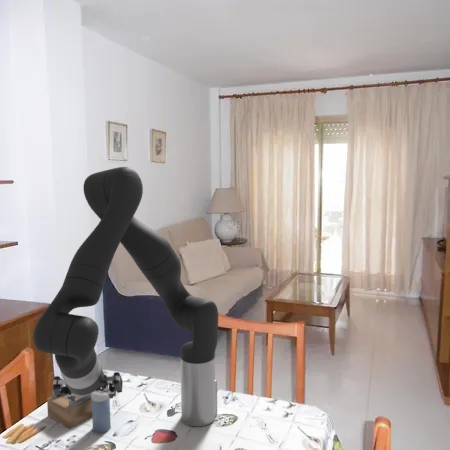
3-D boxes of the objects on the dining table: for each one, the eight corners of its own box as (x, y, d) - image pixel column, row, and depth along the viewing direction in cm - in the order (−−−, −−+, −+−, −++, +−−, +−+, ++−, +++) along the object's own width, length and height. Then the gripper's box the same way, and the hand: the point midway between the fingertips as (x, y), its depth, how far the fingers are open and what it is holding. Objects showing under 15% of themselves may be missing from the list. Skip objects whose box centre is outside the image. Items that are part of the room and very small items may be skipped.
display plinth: (79, 400, 127) (78, 379, 126) (100, 411, 121) (99, 389, 120) (47, 415, 119) (46, 393, 118) (69, 428, 113) (68, 404, 112)
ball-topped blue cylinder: (103, 421, 116) (102, 386, 115) (114, 427, 113) (113, 391, 112) (88, 429, 112) (87, 393, 111) (99, 436, 109) (98, 398, 108)
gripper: (118, 349, 91) (124, 377, 103) (47, 354, 89) (63, 381, 101) (116, 385, 86) (123, 410, 99) (42, 391, 84) (58, 415, 97)
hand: (92, 395), depth 100 cm, fingers open, 8 cm apart
